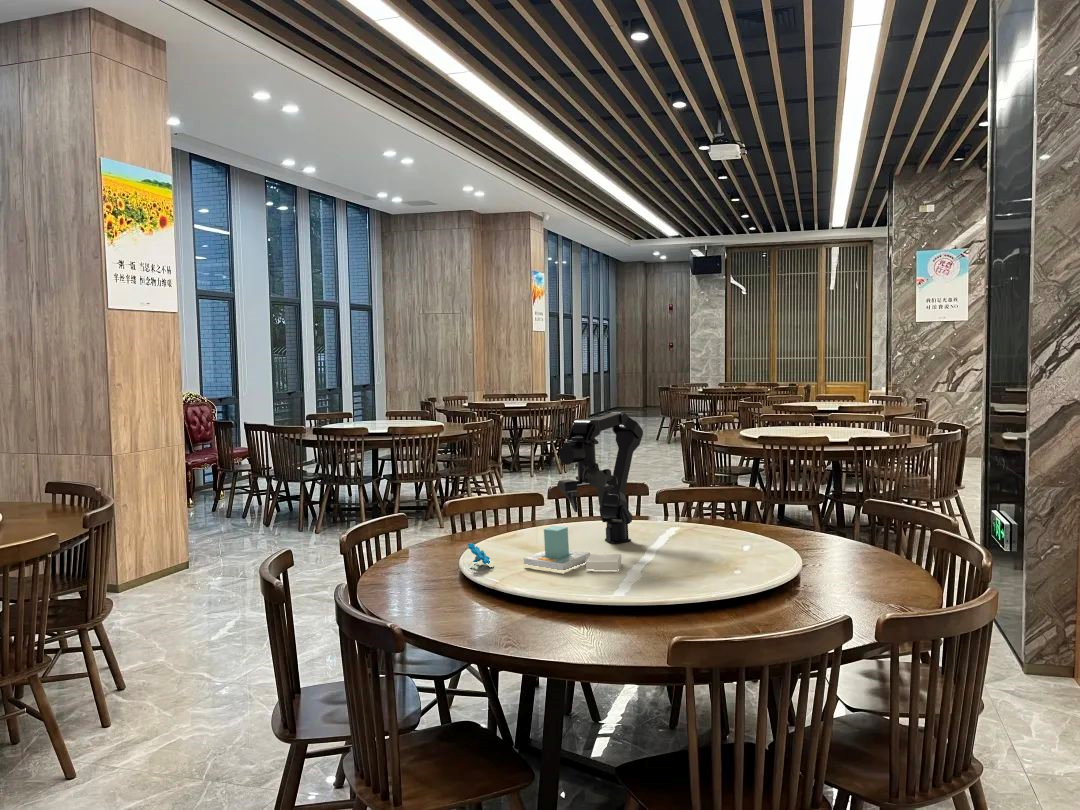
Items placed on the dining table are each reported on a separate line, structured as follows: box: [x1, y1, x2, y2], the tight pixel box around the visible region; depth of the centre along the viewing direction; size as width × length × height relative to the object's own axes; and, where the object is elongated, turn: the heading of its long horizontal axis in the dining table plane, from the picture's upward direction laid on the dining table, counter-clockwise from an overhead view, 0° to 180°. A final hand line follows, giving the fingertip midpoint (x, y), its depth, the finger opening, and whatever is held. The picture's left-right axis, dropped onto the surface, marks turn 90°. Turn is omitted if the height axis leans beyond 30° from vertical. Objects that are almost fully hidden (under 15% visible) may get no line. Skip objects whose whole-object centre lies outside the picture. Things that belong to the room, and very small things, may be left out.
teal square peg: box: [543, 525, 570, 559], centre depth 260 cm, size 5×5×11 cm
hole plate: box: [523, 549, 591, 570], centre depth 260 cm, size 14×14×3 cm
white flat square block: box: [585, 553, 623, 572], centre depth 254 cm, size 9×9×3 cm
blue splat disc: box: [467, 542, 491, 565], centre depth 262 cm, size 11×6×10 cm
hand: (588, 510), depth 274 cm, fingers open, 9 cm apart
